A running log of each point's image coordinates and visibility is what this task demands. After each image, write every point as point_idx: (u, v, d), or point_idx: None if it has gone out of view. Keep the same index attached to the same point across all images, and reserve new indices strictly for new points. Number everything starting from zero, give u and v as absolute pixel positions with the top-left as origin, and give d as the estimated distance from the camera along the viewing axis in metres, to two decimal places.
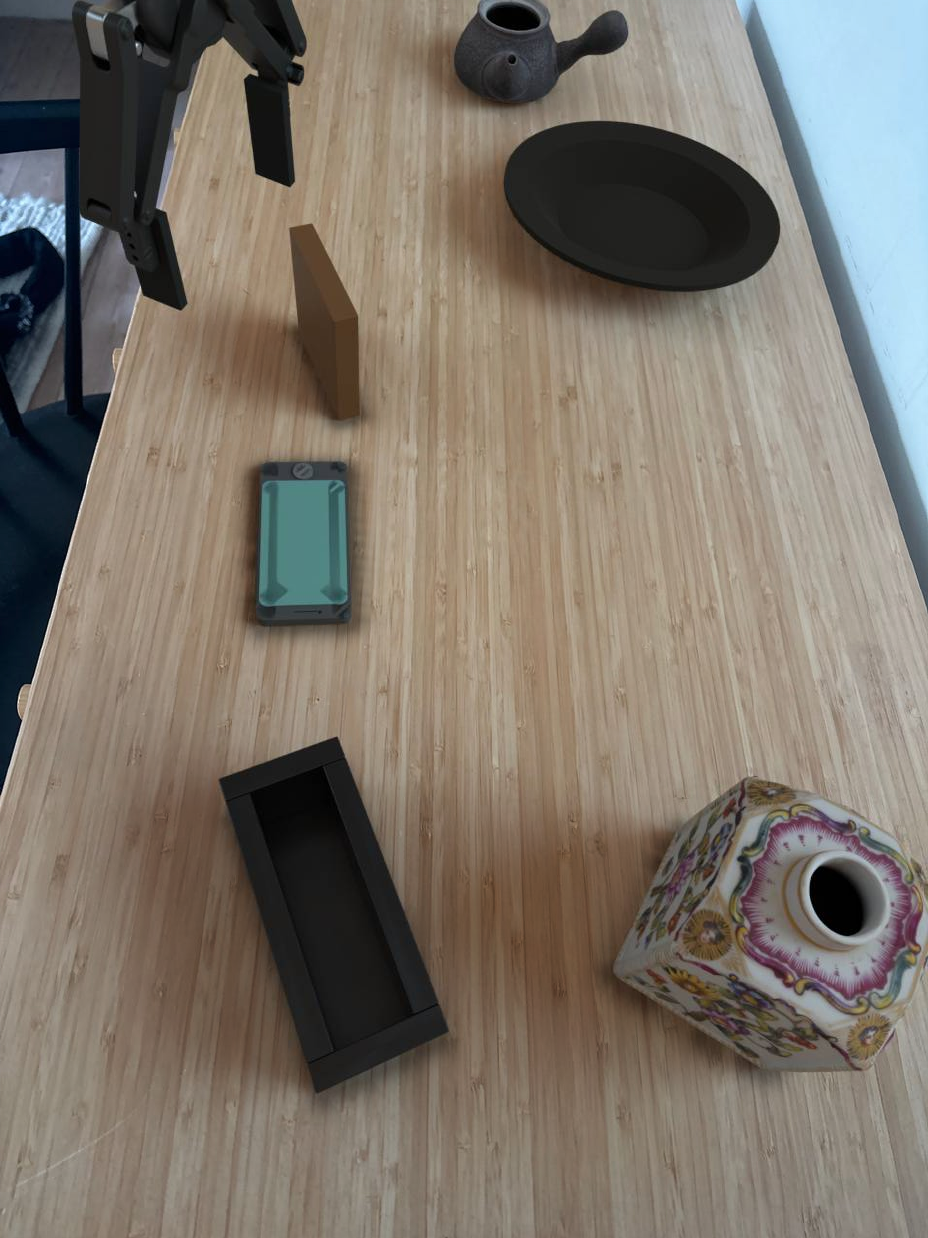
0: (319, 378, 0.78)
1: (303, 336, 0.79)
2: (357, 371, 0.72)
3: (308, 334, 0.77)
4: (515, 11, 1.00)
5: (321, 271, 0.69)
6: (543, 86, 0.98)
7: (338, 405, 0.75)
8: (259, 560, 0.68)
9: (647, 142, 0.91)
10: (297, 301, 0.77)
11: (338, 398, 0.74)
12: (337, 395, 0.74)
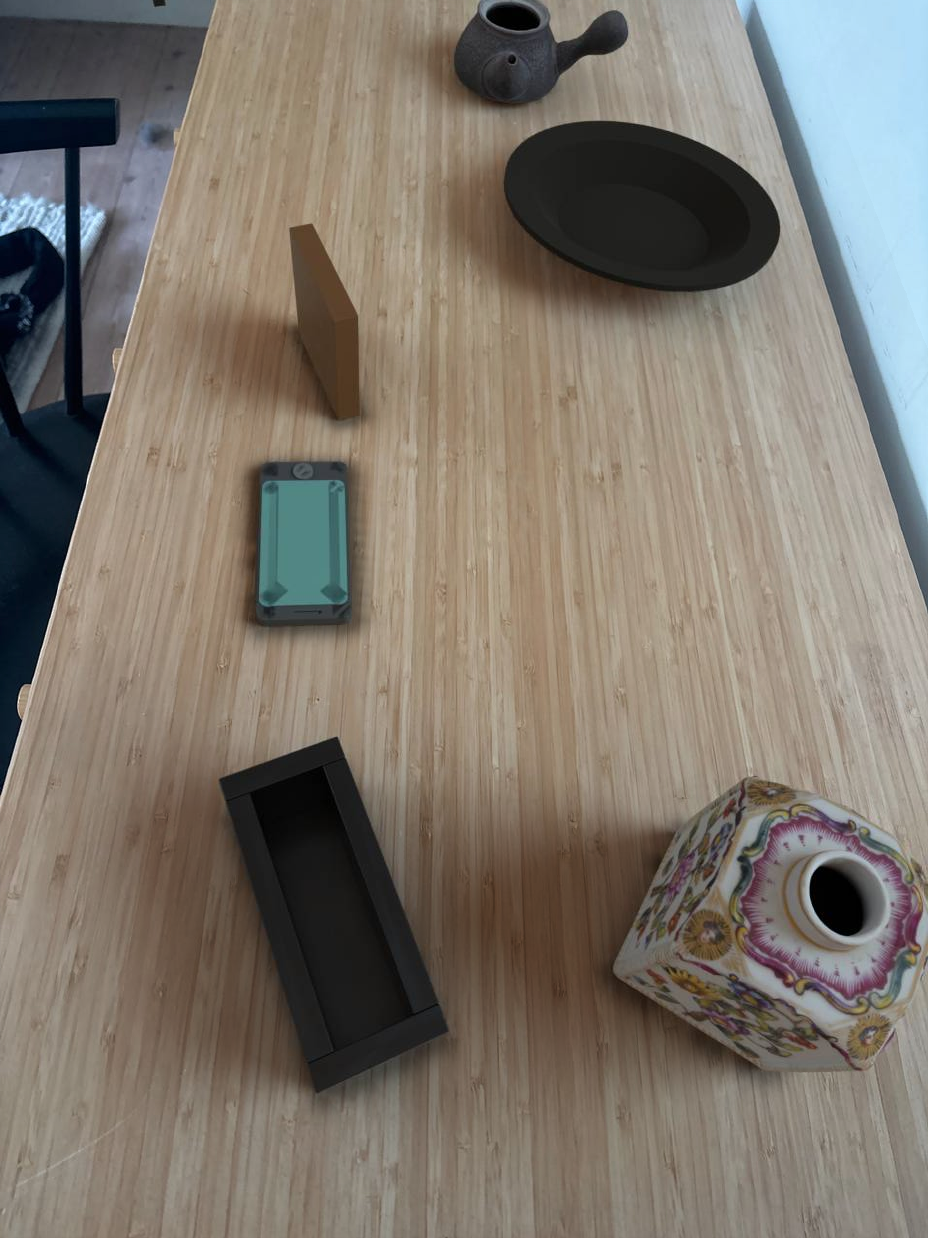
0: (319, 378, 0.78)
1: (303, 336, 0.79)
2: (357, 371, 0.72)
3: (308, 334, 0.77)
4: (515, 11, 1.00)
5: (321, 271, 0.69)
6: (543, 86, 0.98)
7: (338, 405, 0.75)
8: (259, 560, 0.68)
9: (647, 142, 0.91)
10: (297, 301, 0.77)
11: (338, 398, 0.74)
12: (337, 395, 0.74)
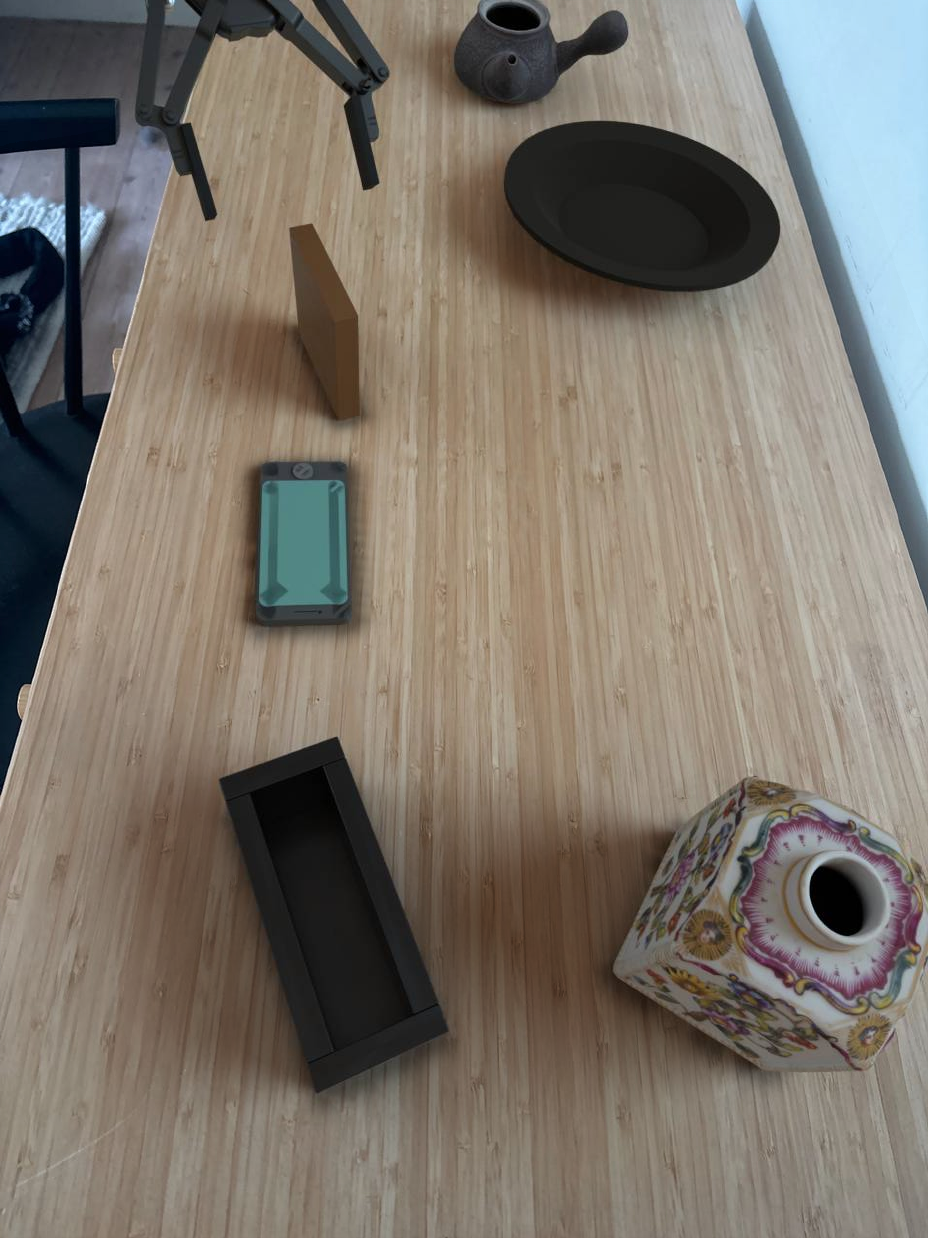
0: (319, 378, 0.78)
1: (303, 336, 0.79)
2: (357, 371, 0.72)
3: (308, 334, 0.77)
4: (515, 11, 1.00)
5: (321, 271, 0.69)
6: (543, 86, 0.98)
7: (338, 405, 0.75)
8: (259, 560, 0.68)
9: (647, 142, 0.91)
10: (297, 301, 0.77)
11: (338, 398, 0.74)
12: (337, 395, 0.74)
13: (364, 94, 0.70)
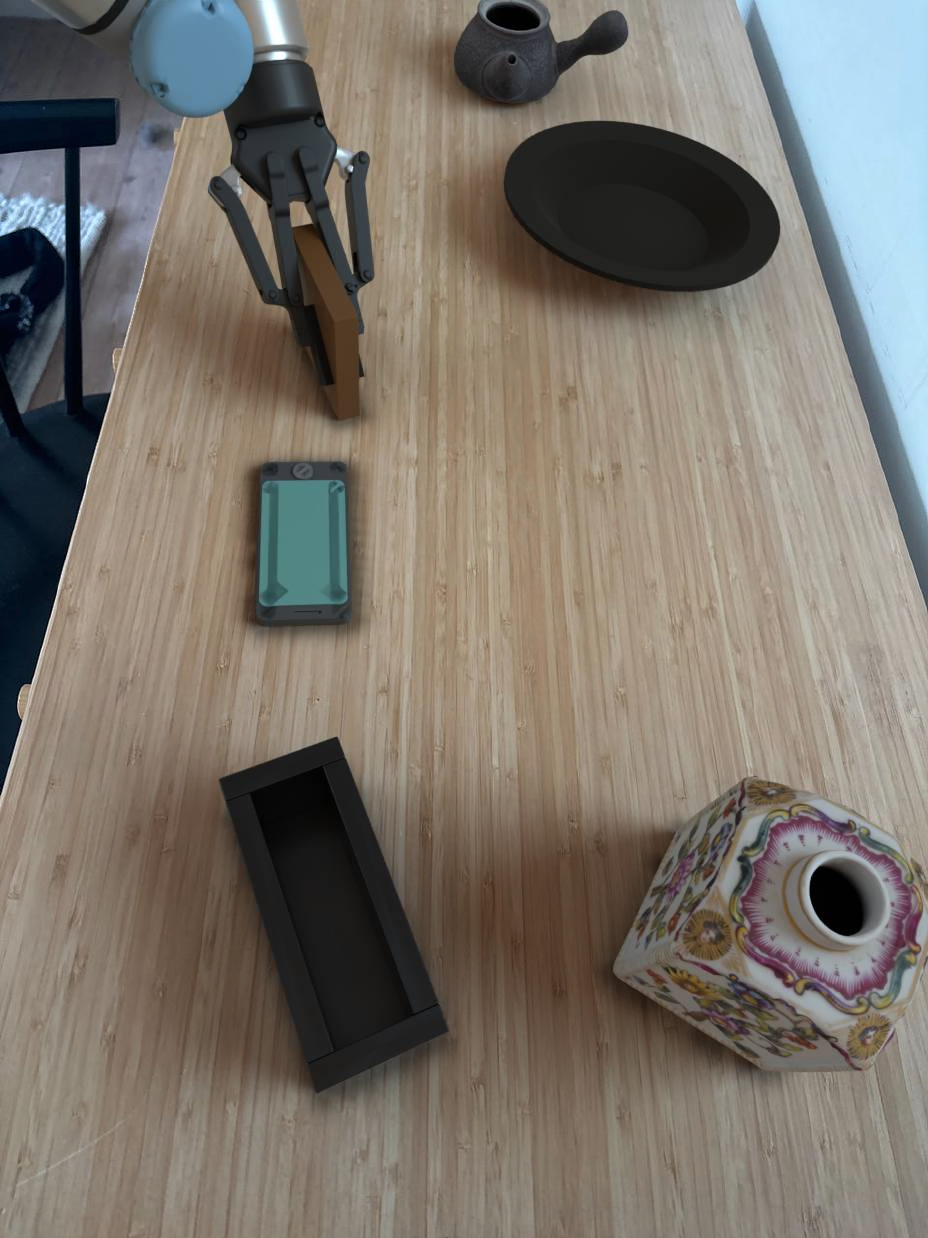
0: None
1: None
2: (357, 371, 0.72)
3: None
4: (515, 11, 1.00)
5: (321, 271, 0.69)
6: (543, 86, 0.98)
7: (338, 405, 0.75)
8: (259, 560, 0.68)
9: (647, 142, 0.91)
10: None
11: (338, 398, 0.74)
12: (337, 395, 0.74)
13: None
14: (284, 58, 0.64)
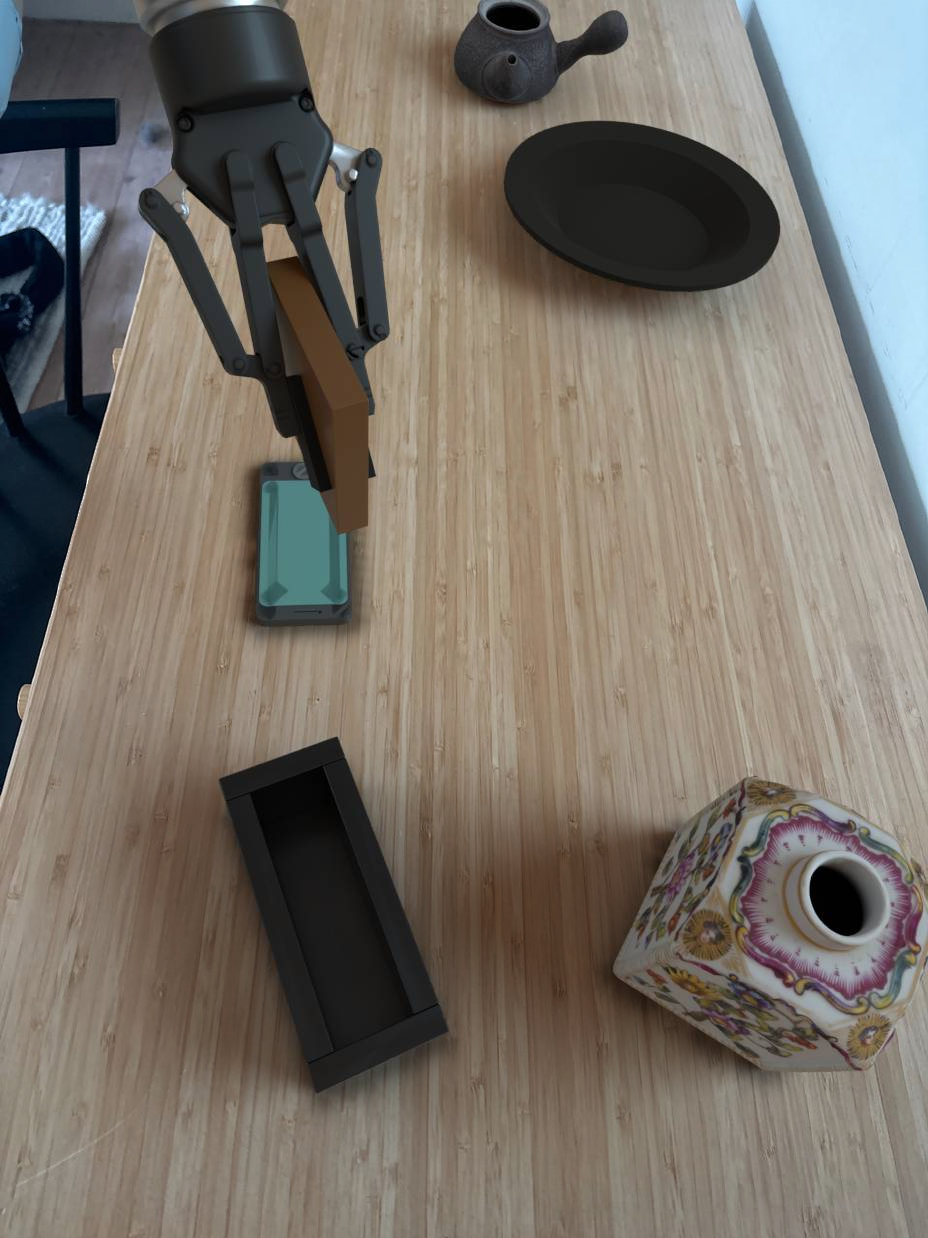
0: None
1: None
2: (366, 472, 0.49)
3: None
4: (515, 11, 1.00)
5: (311, 330, 0.46)
6: (543, 86, 0.98)
7: (338, 517, 0.52)
8: (259, 560, 0.68)
9: (647, 142, 0.91)
10: None
11: (338, 508, 0.51)
12: (336, 504, 0.51)
13: None
14: (250, 4, 0.41)
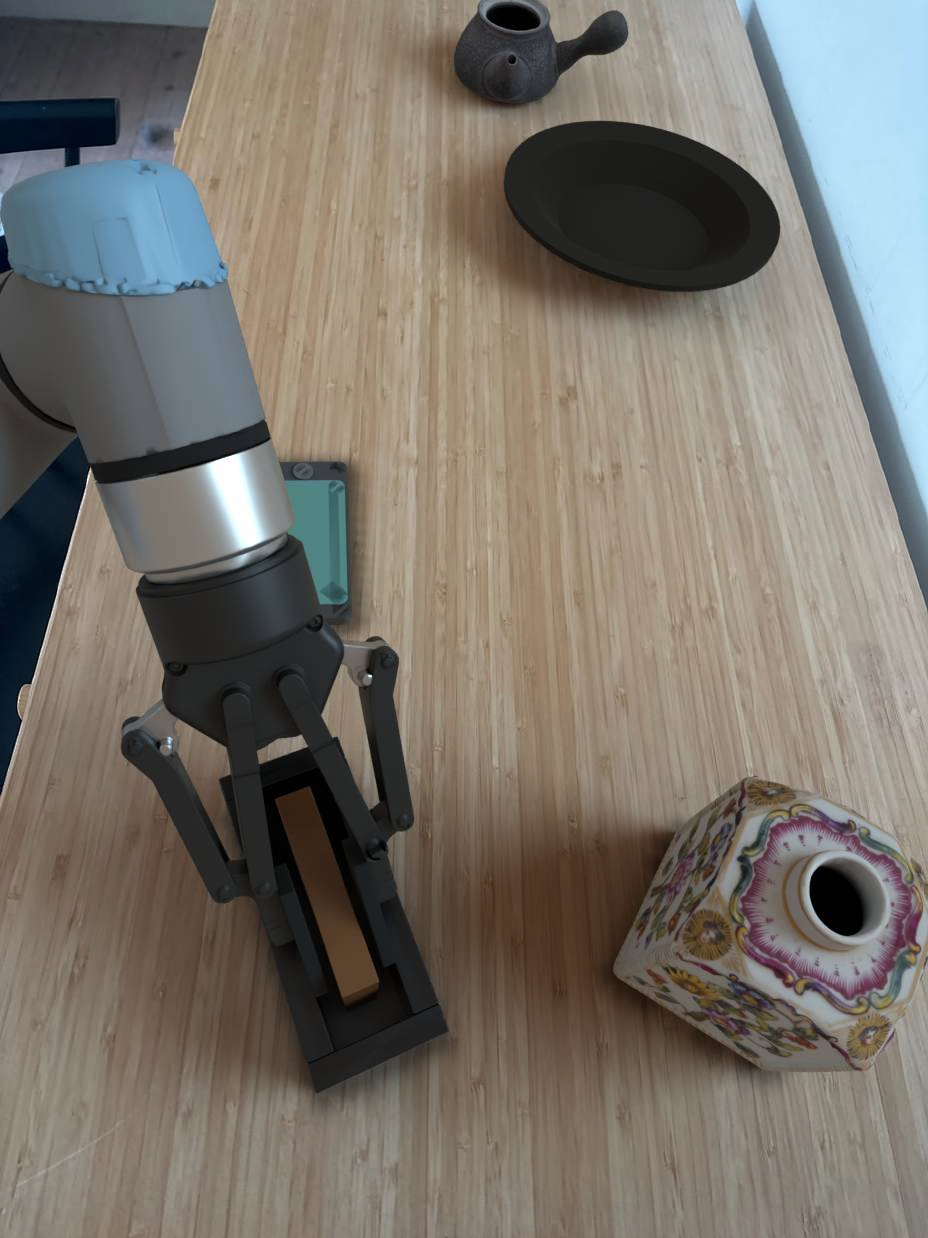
0: None
1: None
2: (375, 992, 0.49)
3: None
4: (515, 11, 1.00)
5: (322, 889, 0.46)
6: (543, 86, 0.98)
7: (347, 1009, 0.52)
8: None
9: (647, 142, 0.91)
10: None
11: (347, 1008, 0.51)
12: (346, 1007, 0.51)
13: (368, 850, 0.44)
14: (251, 562, 0.36)
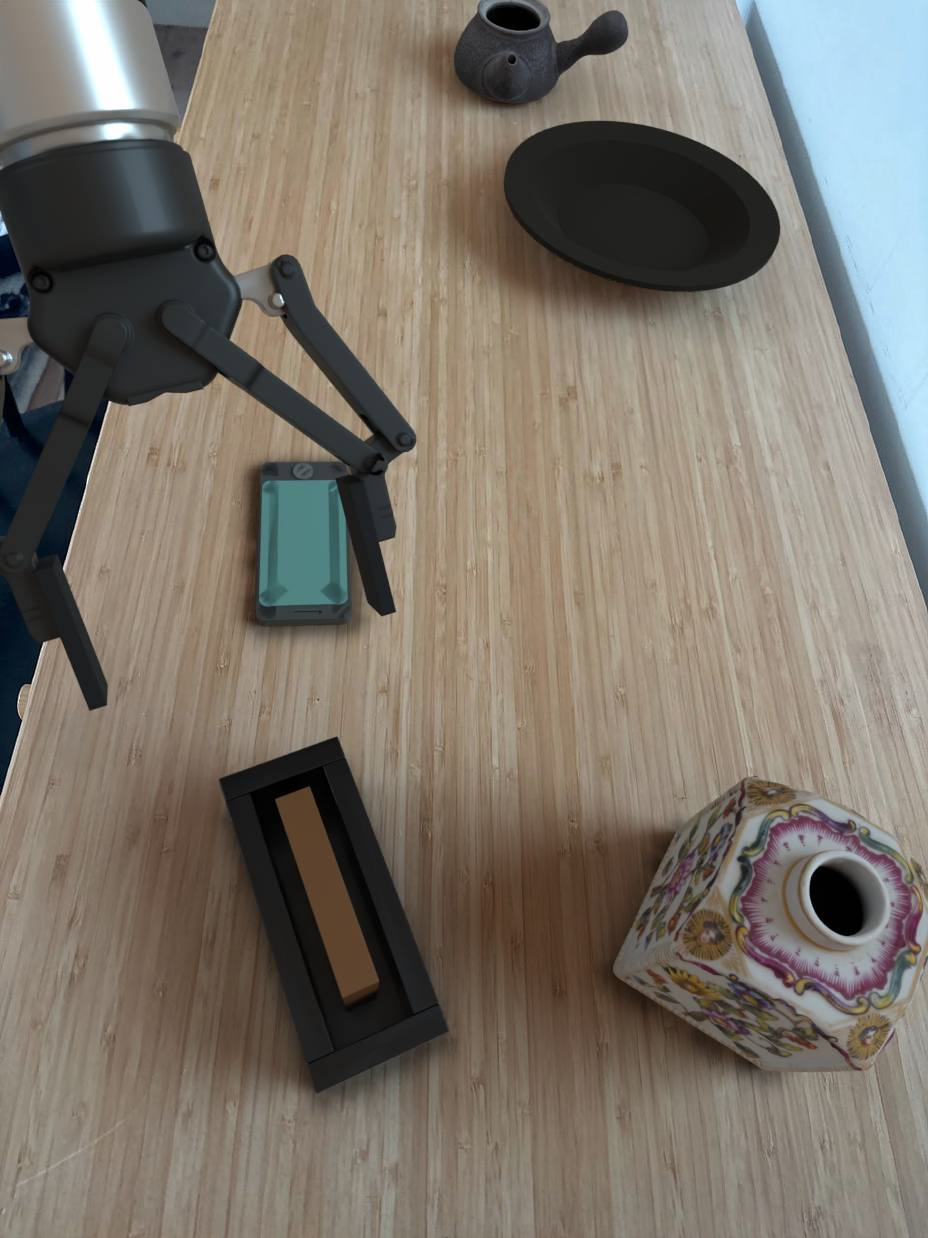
0: None
1: None
2: (375, 992, 0.49)
3: None
4: (515, 11, 1.00)
5: (322, 889, 0.46)
6: (543, 86, 0.98)
7: (347, 1009, 0.52)
8: (259, 560, 0.68)
9: (647, 142, 0.91)
10: None
11: (347, 1008, 0.51)
12: (346, 1007, 0.51)
13: (372, 473, 0.40)
14: (120, 137, 0.31)
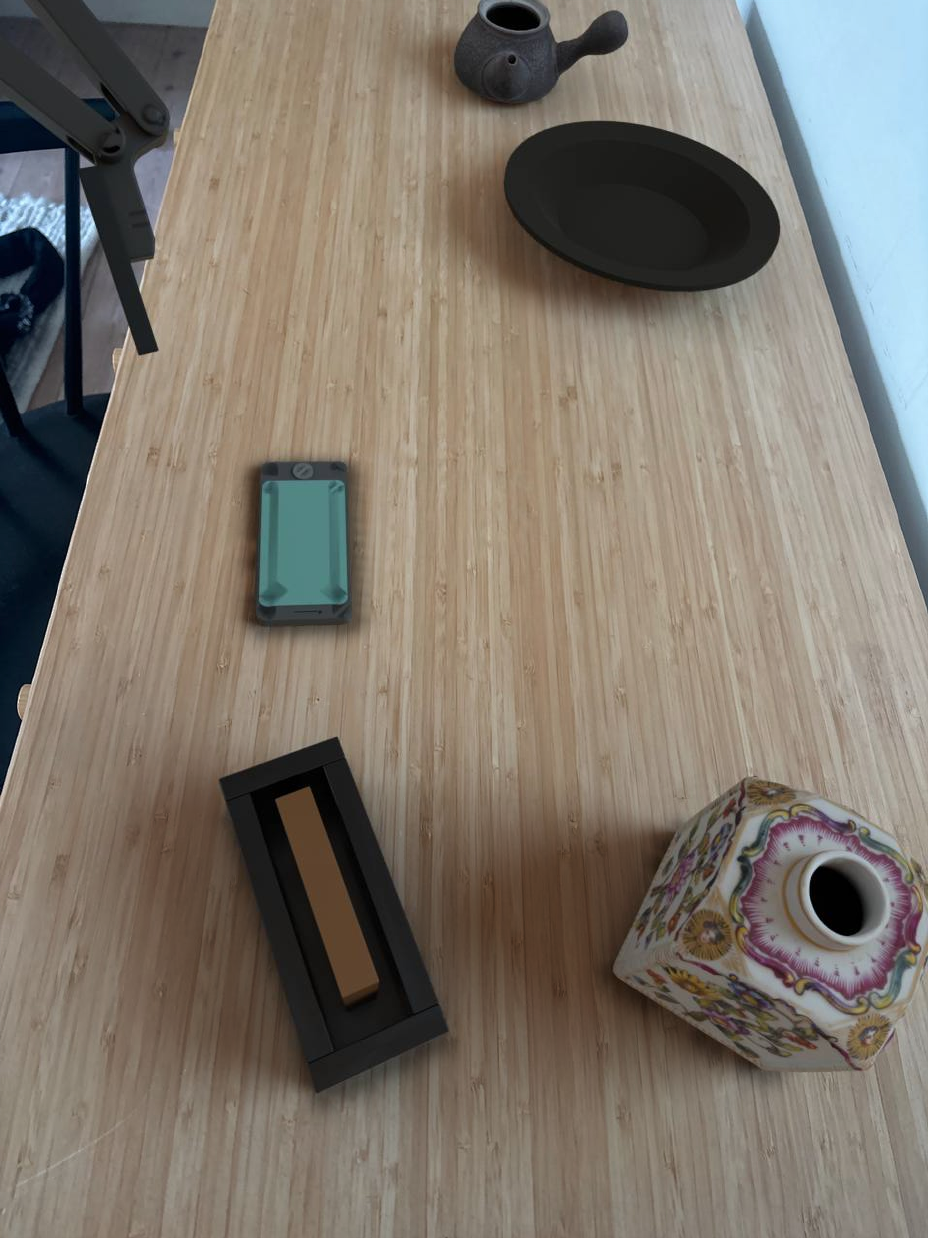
0: None
1: None
2: (375, 992, 0.49)
3: None
4: (515, 11, 1.00)
5: (322, 889, 0.46)
6: (543, 86, 0.98)
7: (347, 1009, 0.52)
8: (259, 560, 0.68)
9: (647, 142, 0.91)
10: None
11: (347, 1008, 0.51)
12: (346, 1007, 0.51)
13: (116, 163, 0.32)
14: None
